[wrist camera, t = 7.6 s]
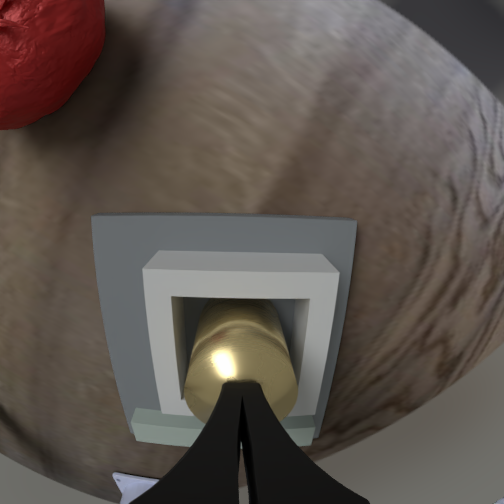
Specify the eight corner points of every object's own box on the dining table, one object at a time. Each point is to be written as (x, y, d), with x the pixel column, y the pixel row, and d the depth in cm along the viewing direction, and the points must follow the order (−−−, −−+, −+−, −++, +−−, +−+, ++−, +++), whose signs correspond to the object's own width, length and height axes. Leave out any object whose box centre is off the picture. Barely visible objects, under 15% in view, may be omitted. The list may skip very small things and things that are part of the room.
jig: (315, 428, 21) (326, 466, 17) (133, 424, 20) (121, 461, 16) (350, 218, 17) (381, 233, 13) (98, 213, 16) (63, 226, 12)
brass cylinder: (275, 358, 18) (290, 432, 12) (200, 356, 17) (188, 430, 11) (282, 289, 16) (305, 351, 11) (198, 286, 16) (180, 348, 10)
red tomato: (150, 66, 14) (80, -13, 5) (21, 164, 15) (-90, 179, 6) (96, -31, 11) (39, -104, 2) (-14, 59, 12) (-99, 37, 3)
